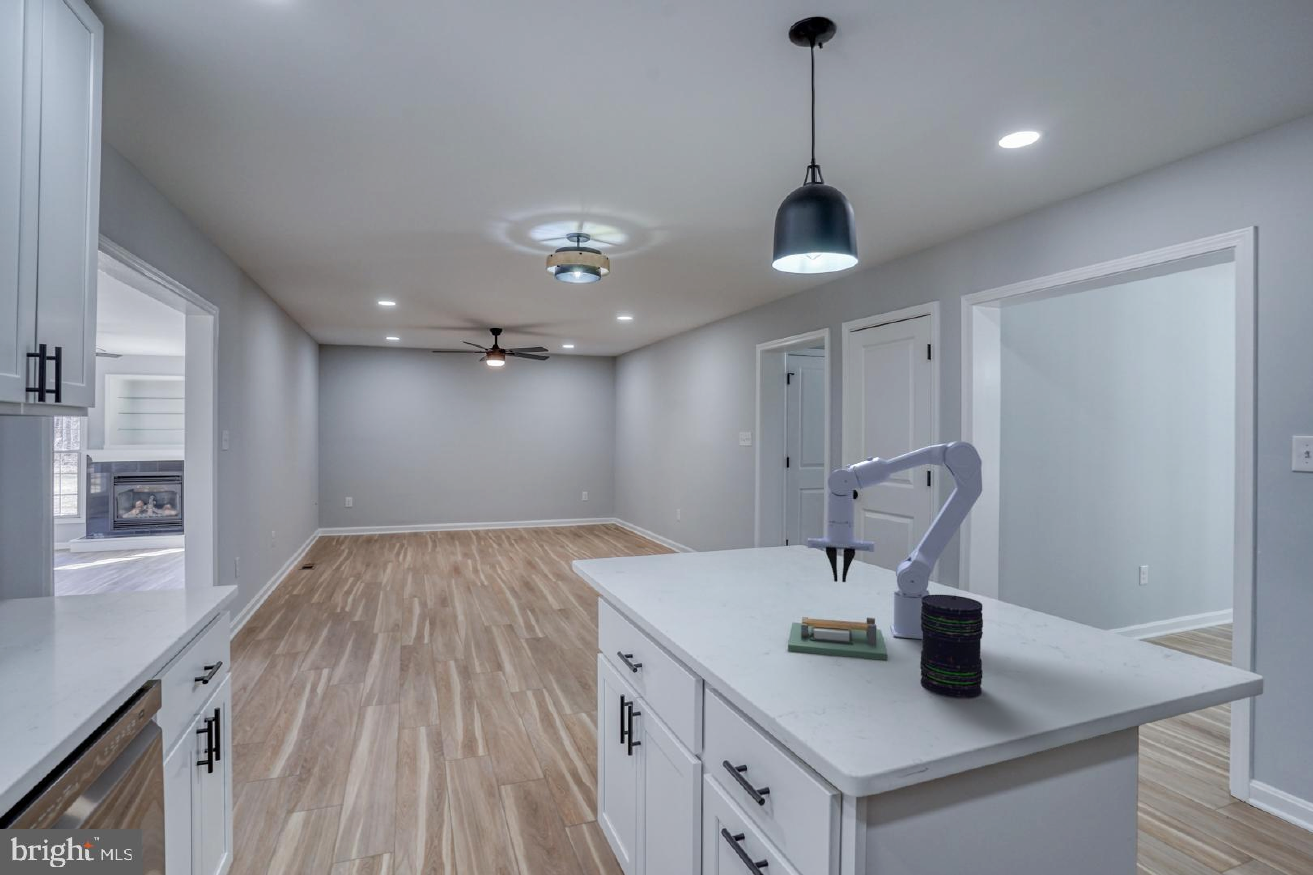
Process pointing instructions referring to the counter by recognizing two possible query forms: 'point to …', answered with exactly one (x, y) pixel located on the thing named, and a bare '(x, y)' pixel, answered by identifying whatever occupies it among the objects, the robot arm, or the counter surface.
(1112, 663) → the counter surface
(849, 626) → the hold-down strap
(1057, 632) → the counter surface
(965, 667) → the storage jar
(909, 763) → the counter surface
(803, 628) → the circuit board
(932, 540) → the robot arm
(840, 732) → the counter surface
